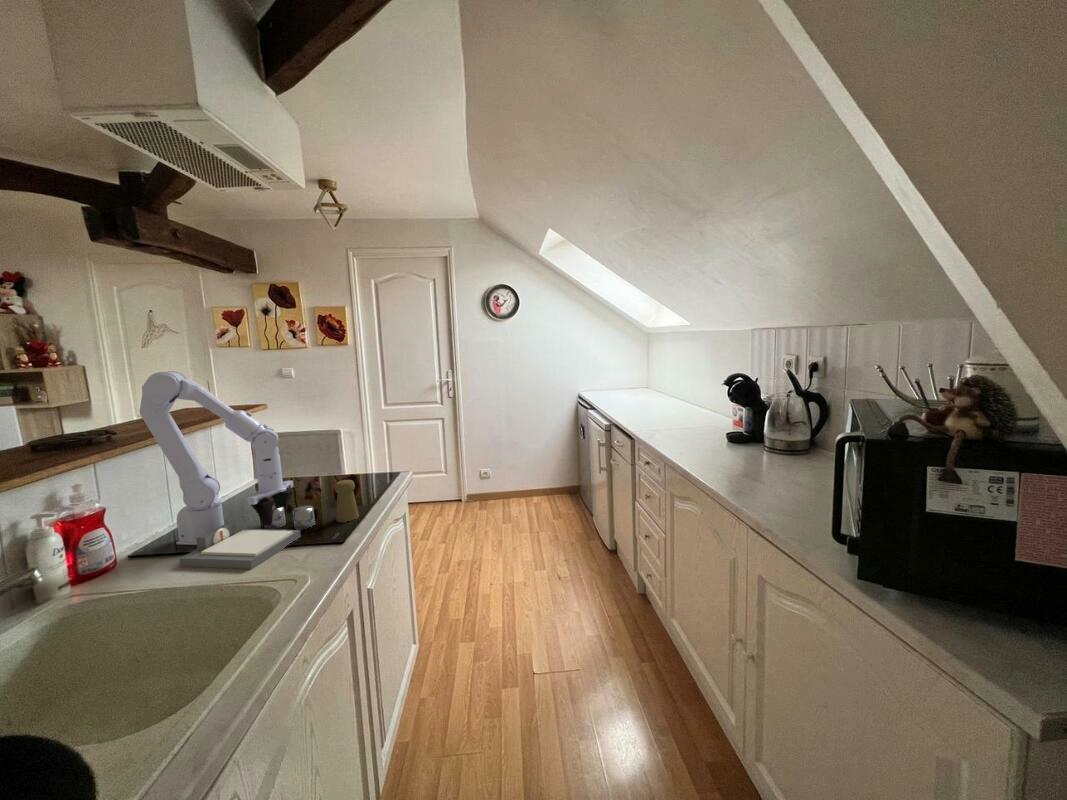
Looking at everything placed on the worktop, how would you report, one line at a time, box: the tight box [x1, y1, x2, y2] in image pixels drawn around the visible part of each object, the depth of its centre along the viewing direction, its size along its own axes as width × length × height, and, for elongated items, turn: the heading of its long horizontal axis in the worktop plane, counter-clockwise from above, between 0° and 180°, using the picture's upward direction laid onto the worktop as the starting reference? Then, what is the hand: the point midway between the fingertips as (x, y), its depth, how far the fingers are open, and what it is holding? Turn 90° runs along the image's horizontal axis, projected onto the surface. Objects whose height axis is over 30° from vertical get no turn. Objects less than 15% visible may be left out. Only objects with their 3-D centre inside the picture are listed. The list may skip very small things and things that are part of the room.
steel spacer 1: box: [264, 504, 287, 530], centre depth 118 cm, size 5×5×5 cm
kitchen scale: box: [179, 523, 302, 570], centre depth 102 cm, size 18×16×6 cm
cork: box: [334, 479, 360, 523], centre depth 121 cm, size 6×6×11 cm
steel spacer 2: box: [292, 505, 316, 531], centre depth 116 cm, size 5×5×5 cm
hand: (274, 520), depth 118 cm, fingers closed on steel spacer 1, 5 cm apart
